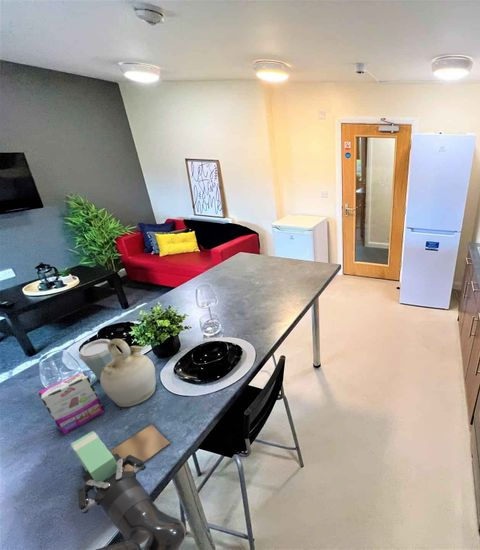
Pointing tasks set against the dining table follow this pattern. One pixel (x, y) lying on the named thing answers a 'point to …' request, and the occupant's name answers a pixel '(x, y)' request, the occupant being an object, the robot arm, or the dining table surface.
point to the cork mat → (142, 445)
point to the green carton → (95, 457)
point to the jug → (128, 375)
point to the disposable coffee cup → (96, 356)
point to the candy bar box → (72, 402)
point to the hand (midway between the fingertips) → (100, 464)
